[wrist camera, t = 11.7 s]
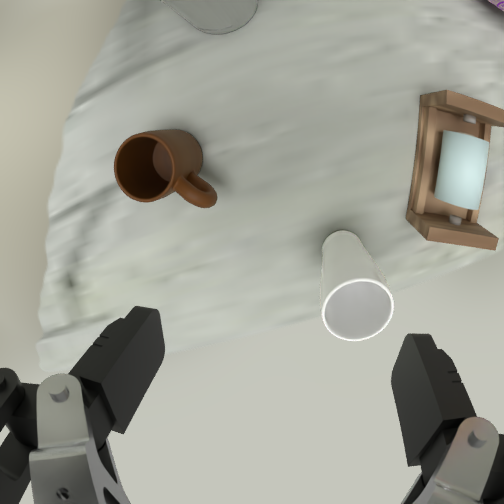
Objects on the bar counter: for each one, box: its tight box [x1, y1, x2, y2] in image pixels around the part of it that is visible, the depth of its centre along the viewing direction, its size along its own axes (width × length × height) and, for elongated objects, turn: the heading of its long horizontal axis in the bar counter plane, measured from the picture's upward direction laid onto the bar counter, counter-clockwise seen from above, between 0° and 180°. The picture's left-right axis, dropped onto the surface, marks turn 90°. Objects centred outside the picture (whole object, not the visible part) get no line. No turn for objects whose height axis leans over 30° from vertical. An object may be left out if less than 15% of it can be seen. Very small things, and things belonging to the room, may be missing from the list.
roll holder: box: [406, 90, 504, 250], centre depth 29 cm, size 16×10×8 cm, turn 177°
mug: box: [114, 130, 217, 208], centre depth 34 cm, size 12×8×9 cm, turn 59°
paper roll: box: [434, 130, 489, 210], centre depth 29 cm, size 9×6×6 cm
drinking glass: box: [320, 230, 394, 341], centre depth 33 cm, size 7×7×15 cm
